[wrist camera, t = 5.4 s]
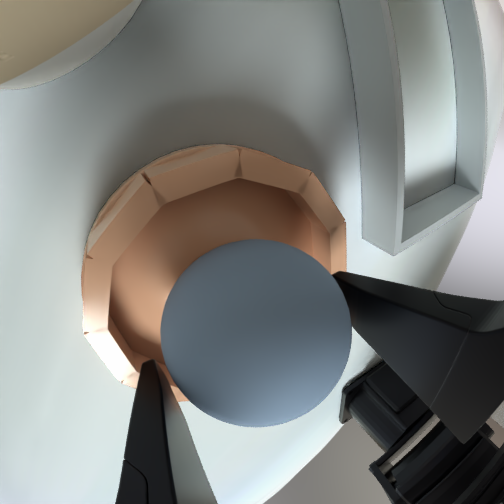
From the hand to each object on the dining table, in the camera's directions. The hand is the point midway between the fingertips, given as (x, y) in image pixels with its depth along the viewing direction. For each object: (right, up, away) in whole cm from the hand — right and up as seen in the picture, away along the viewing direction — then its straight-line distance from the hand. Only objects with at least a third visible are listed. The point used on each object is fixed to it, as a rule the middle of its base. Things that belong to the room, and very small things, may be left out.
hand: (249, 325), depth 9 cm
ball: (-1, +1, +2) cm, 2 cm away
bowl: (-1, +1, +3) cm, 3 cm away
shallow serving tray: (+9, +11, +3) cm, 15 cm away
